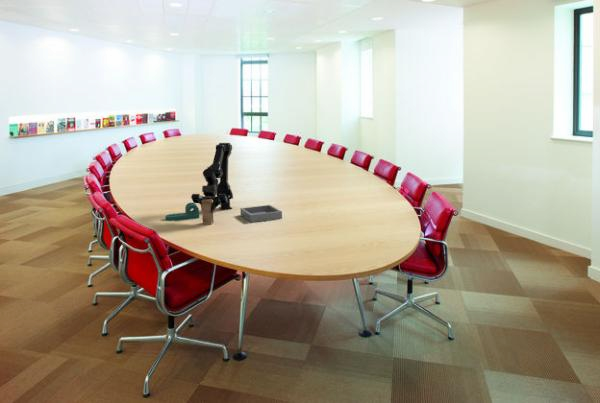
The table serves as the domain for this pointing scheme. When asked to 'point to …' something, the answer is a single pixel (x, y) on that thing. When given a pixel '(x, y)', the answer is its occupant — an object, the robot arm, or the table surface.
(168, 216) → the bracket
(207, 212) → the brown tall block
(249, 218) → the box
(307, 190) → the table surface
